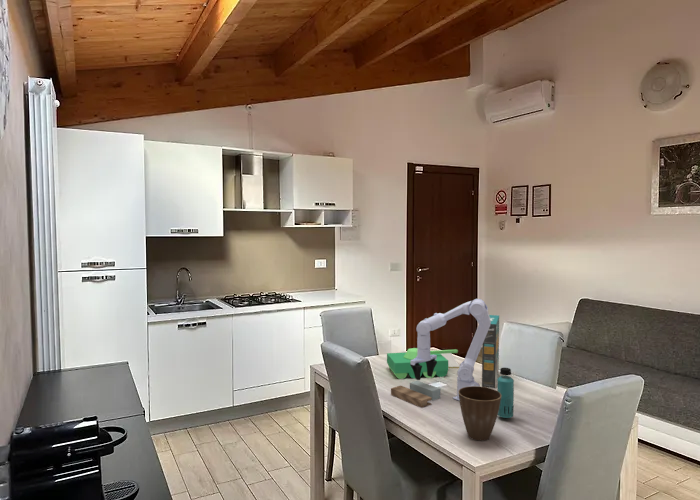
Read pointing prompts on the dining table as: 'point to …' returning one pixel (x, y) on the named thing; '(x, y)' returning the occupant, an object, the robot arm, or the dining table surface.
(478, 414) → the plant pot
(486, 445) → the dining table surface
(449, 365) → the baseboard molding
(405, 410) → the dining table surface
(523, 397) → the dining table surface
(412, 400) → the grooved board
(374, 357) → the dining table surface
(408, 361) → the toy tank
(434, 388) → the tongue plank
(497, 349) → the cake mix box
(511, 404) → the beverage bottle
